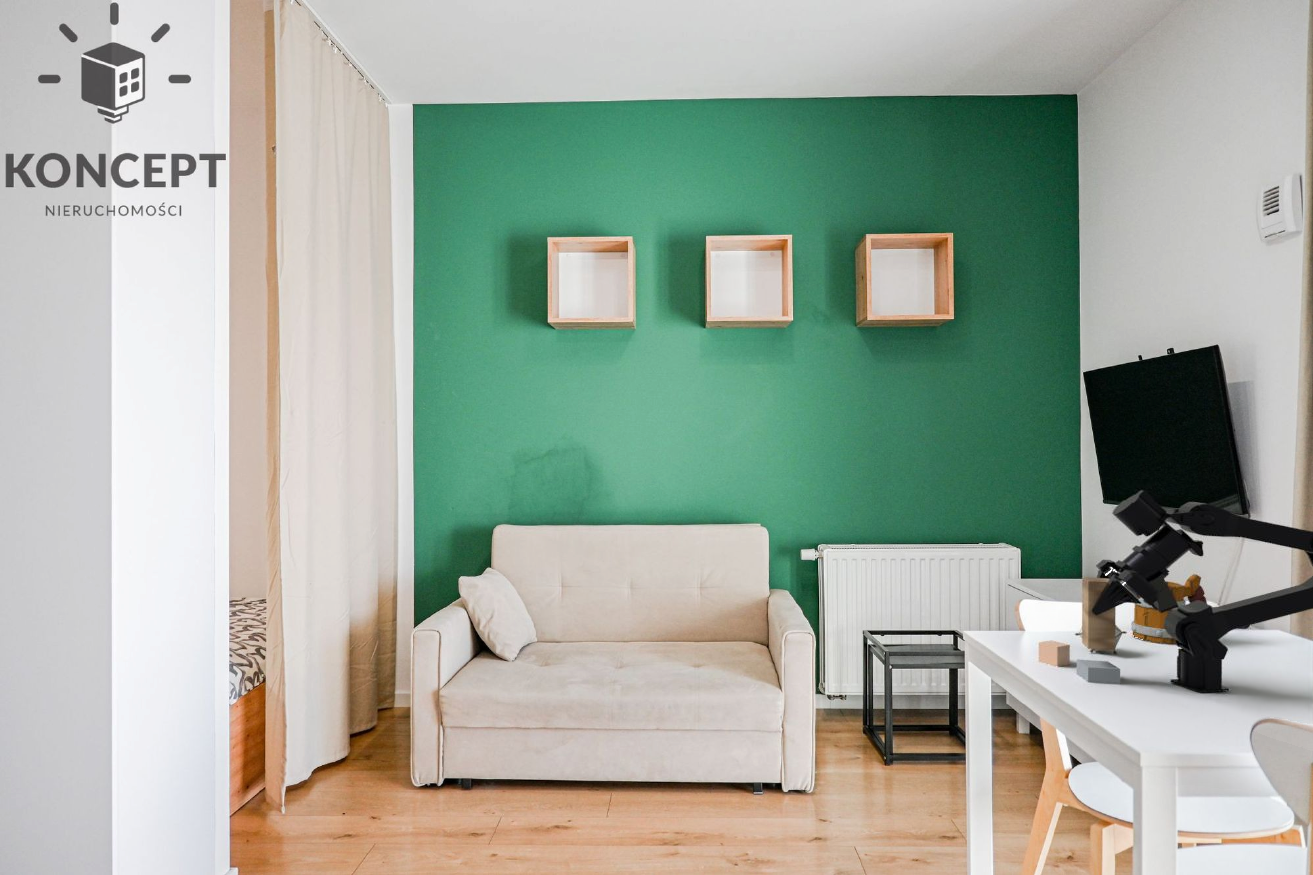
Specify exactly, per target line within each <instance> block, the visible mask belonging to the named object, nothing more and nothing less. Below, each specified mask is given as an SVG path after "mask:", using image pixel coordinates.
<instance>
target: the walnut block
mask: <svg viewBox="0 0 1313 875" xmlns="http://www.w3.org/2000/svg"><path fill="white" fill-rule="evenodd" d="M1081 579H1082V581H1081V584H1082V585H1081V590H1082V591H1081V593H1082V594H1081V604H1082V605H1081V628H1082V638H1081V644H1083V645H1084V647H1086V648H1087V649H1089V650H1091V649H1099V650H1098V651H1100V650H1113V651H1116V648H1115V625H1116V607H1114V608H1112V609H1110V610H1108V611H1105V612H1103V613H1101V614H1099V615H1095V614H1094V613H1093V612H1092V609H1093V607H1094V605H1095V603H1096V602H1097V600H1098V598H1099V597H1100V595H1101V593H1102V591H1103V590H1104V588H1105V586H1106V584H1107V583H1108V581H1109V579H1107V578H1096V577H1084V576H1082V577H1081ZM1113 651H1112V652H1113Z"/></svg>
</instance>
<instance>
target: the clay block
mask: <svg viewBox="0 0 1313 875" xmlns="http://www.w3.org/2000/svg"><path fill="white" fill-rule="evenodd" d="M1070 648H1071V644H1068V643H1064V642H1060V641H1055V640H1047V641H1046V640H1045V641H1040V642H1038V662H1039V663H1041V662H1042V663H1041V664H1044V663H1045V664H1046V665H1048V664H1050V665H1049V666H1052V667H1056V666H1059V667H1064V666H1068V665H1067V664H1069V665H1071V664H1070V661H1071V659H1070V657H1071V656H1070V655H1071V651H1070V650H1071V649H1070ZM1045 664H1044V665H1045Z"/></svg>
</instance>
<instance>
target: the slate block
mask: <svg viewBox="0 0 1313 875" xmlns="http://www.w3.org/2000/svg"><path fill="white" fill-rule="evenodd" d="M1076 675H1077V676H1078V677H1080V678H1081V677H1082V679H1083V680H1085V682H1087V683H1090V684H1091V683H1095V684H1111V685H1113V684H1114V685H1121V668H1119V667H1118V666H1116V665H1114V664H1113V663H1111V662H1110V661H1108V660H1097V659H1096V660H1091V659H1076Z"/></svg>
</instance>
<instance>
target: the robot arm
mask: <svg viewBox="0 0 1313 875" xmlns="http://www.w3.org/2000/svg"><path fill="white" fill-rule="evenodd" d="M1112 515H1113V516H1115V518H1116V519H1117V520H1119V521H1120V522H1121V523H1122V524H1123V525H1124V526H1125V527H1126V528H1127V529H1128V530H1130V531H1131V532H1132V533H1133V534H1134V535H1135V536H1137V537H1140V536H1142V535H1144V537H1149V538H1147V539H1146V541H1144V542H1143V543H1142V544H1141V545H1135V546H1134V547H1132V548H1131V550H1132V553H1130V554H1129V555H1128V556H1126V558H1124V559H1123V560H1119V559H1118V560H1117V561H1114V560H1111V559H1102V560H1100V562H1099V563H1098V564H1096V565H1095V567H1096V568H1097V569H1098V571H1097V576H1096V577H1095V578H1107V579H1109V581H1108V583H1107V584H1106V586H1105V588H1104V590H1103V591H1102V593H1101V595H1100V597H1099V598H1098V600H1097V602H1096V603H1095V605H1094V607H1093V609H1092V612H1093V613H1094V614H1095V615H1099V614H1101V613H1103V612H1105V611H1108V610H1110V609H1112V608H1114V607H1115V608H1116V607H1118V606H1120V605H1123V604H1125V603H1128V604H1129V603H1131V604H1134V603H1137V604H1141V602H1140V601H1139V599H1140V598H1142V599H1144V600H1143V601H1144V602H1145V603H1146V604H1148V605H1150V606H1152V607H1153V609H1154V610H1158V611H1159V612H1160V613H1163V612H1165V611H1168V610H1171V609H1174V608H1177V609H1175V610H1173V611H1170V612H1169V613H1168V614H1167V616H1166V618H1165V619H1164V627H1165V630H1166V632H1167V633H1168V634H1169V635H1170V636H1171V637H1173V638H1174V640H1175V642H1176V644H1175V645H1176V646H1177V647H1178V649H1177V650H1178V655H1177V656H1176V678H1171V679H1170V683H1172V684H1175V685H1178V686H1181V687H1182V688H1183V687H1184V688H1187V689H1190V690H1192V691H1194V692H1197V693H1214V692H1215V693H1216V692H1218V693H1219V692H1230V687H1226V686H1223V661H1224V660H1225V658H1226V655H1227V653H1228V651H1229V649H1228V647H1227V646H1226V645H1225V644H1224V643H1223V642H1221V640H1220V639H1222V638H1223V637H1224V636H1226V635H1227V634H1228V633H1230V632H1232V631H1233V630H1236V629H1240V628H1244V627H1248V626H1253V625H1256V624H1260V623H1264V622H1267V621H1272V620H1274V619H1278V618H1283V617H1285V616H1289V615H1290V616H1292V615H1293V614H1299V613H1301V612H1305V611H1309V610H1313V575H1312V576H1311V577H1309V578H1307V579H1306V581H1305V580H1304V581H1303V582H1301V583H1300V584H1298V585H1295V586H1290V587H1287V588H1283V589H1280V590H1279V589H1278V590H1275V591H1271V592H1268V593H1264V594H1260V595H1255V596H1253V597H1249V598H1245V599H1242V600H1238V601H1233V602H1231V603H1227V604H1223V605H1219V606H1212V605H1210V604H1208V603H1207V604H1206V603H1204V602H1201V601H1199V600H1197V601H1194V602H1191V603H1190V602H1189V603H1187V604H1186V605H1182V606H1178V604H1177V602H1176V600H1175V598H1174V596H1173V594H1172V592H1171V590H1170V588H1169V586H1168V585H1167V583H1166V581H1167V580H1165V579H1166V578H1167V577H1168V576H1169V575H1170V574H1169V573H1170V570H1168V569H1169V568H1171V566H1172V565H1173V564H1174V563H1176V562H1177V561H1178V560H1179V559H1180V558H1182V557H1183V556H1184V555H1185V554H1187V553H1188V552H1190V553H1191V554H1193V555H1195V556H1198V557H1203V556H1204V548H1203V547H1204V546H1203V545H1204V542H1203V541H1202V540H1198V539H1193V537H1191V536H1190V535H1189V534H1188V533H1192V534H1195V535H1198V536H1203V537H1222V538H1226V537H1228V538H1243V539H1248V540H1253V541H1258V542H1263V543H1267V544H1272V545H1277V546H1280V547H1281V546H1282V547H1286V548H1291V549H1296V550H1299V551H1300V550H1301V551H1304V552H1305V554H1306V555H1307V557H1308V560H1309V562H1310V564H1311V566H1312V567H1313V530H1307V529H1302V528H1296V527H1291V526H1287V525H1282V524H1277V523H1271V522H1266V521H1263V520H1258V519H1252V518H1247V517H1246V516H1245V517H1244V516H1241V515H1239V514H1237V513H1234V512H1232V511H1229V510H1226V509H1224V508H1222V507H1219V506H1216V505H1213V504H1209V503H1205V502H1196V501H1188V502H1186V503H1184V504H1183V505H1180V507H1179V508H1173V509H1172V508H1171V509H1169V508H1166V509H1164V508H1163V507H1162V506H1161V505H1160V504H1158V503H1157V501H1155V500H1154V499H1153V498H1152V496H1151V494H1150V493H1148V492H1147V491H1146V490H1139V491H1138V492H1137V493H1136V494H1132V495H1131V496H1130V497H1128V498H1127V499H1124V500H1122V501H1121V502H1120V503H1119V504H1117V506H1116V507H1115V508H1114V509H1113V510H1112ZM1169 523H1171V524H1176V525H1178V526H1179V527H1180V528H1179V529H1174V527H1172V526H1171V525H1170V524H1169ZM1186 532H1188V533H1186Z"/></svg>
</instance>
